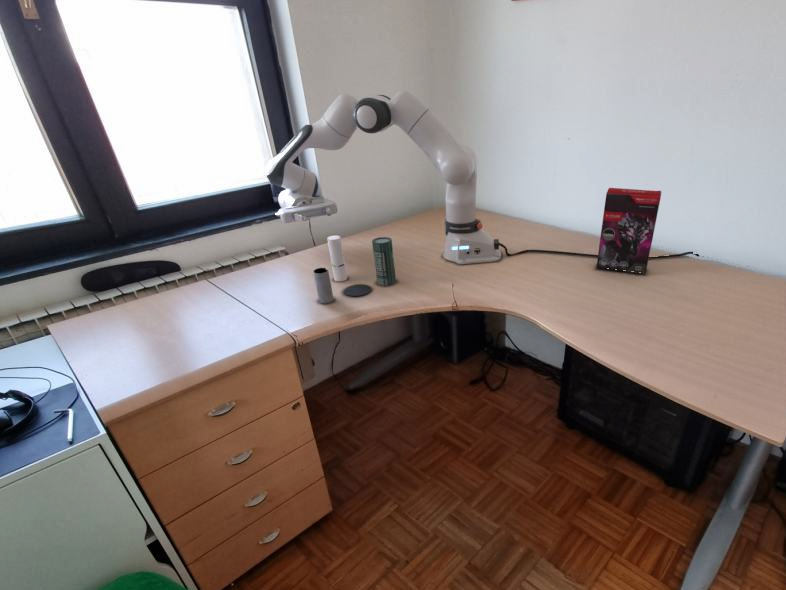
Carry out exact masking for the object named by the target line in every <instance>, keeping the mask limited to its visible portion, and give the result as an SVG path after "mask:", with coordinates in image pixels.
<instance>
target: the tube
mask: <svg viewBox="0 0 786 590" xmlns="http://www.w3.org/2000/svg"><path fill="white" fill-rule="evenodd" d="M326 239H327V245H328V250H329V251H328V252H329V256H330V257H329V258H330V261H331V266H332V267H331V268H332V273H333V279H334V282H344V281H346V280H347V279H348V276H347V275H348V274H347V270H346V269H347V268H346V263H345V258H344V251H343V245H342V239H341V235H330V236H327V237H326Z"/></svg>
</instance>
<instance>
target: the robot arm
mask: <svg viewBox="0 0 786 590" xmlns="http://www.w3.org/2000/svg"><path fill="white" fill-rule="evenodd" d="M393 125H395V126H397V127H399V128H400V129H401V130H402V131H403V132H404V133H405V134H406V135H407V136H408V137H409V138H410V139H411V140H412V141H413V142H414V143H415V144H416V145H417V146H418V147H419V148H420V149H421V150H422V151H423V152H424V154H425V156H427V157H428V159H429V160H430V161H431V163H432V164H433V166H434V167H435V169H437V171H438V172H439V173H440V175H441V176H442V178H443V180H444V181H445V183H446V187H445V197H444V198H445V199H444V201H445V202H444V203H445V219H444V233H445V245H444V250H443V254H442V257H443V259H445V260H447V261H449V262H452V263H453V262H454V263H456V264H457V265H469V264H470V265H471V264H481V263H482V264H483V263H493V262H498V261H500V260H501V258H502V251H501V249H500V247H502V248H503V249H504V252H505V255H506V256H507V257H512V256H513V257H514V256H517V255H521V254H524V253H547V254H560V255H570V256H581V257H590V258H591V257H592V258H598V254H591V253H582V252H572V251H559V250H547V249H523V250H521V251H518V252H516V253H509V252H508V248H507V247H506V245H504V244H503V243H501V242H500V240H499V238H494V237H493V236H492V235H491V234H489V233H488V232H487V231H485V230H483V223H482V221H481V219H479V218H477V217H476V215H477V214H476V212H477V211H476V209H477V208H476V205H477V203H476V201H477V200H476V199H477V197H476V195H477V181H478V180H477V178H478V157H477V154H476V152H475V150H474V149H473V148H472V147H470V146H468V145H464V144H459V143H458V142H457V140H456V139H455V138H454V136H453V135H452V133H451V132H450V130H449V129H448V127H447V126H446V125H445V124H444V123H443V122H442V120H440V119H439V118H438V116H437V115H436V114H434V112H433V111H432V110H431V108H429V107H428V106H427V105H426V104H425V103H424V102H423V101H421V100H420V99H419V98H418V97H417V96H415V95H414V94H413V93H411V92H410V91H408V90H400V91H398V92H397V93H395V94H394V95H393V96H392V97H389V96H387V95H384V94H377V95H376V94H375V95H373V94H372V95H369V96H366V97H363V98H361V99H360V100H358V99H357V98H356V97H354V96H353V95H351V94H349V93H341V94H340V95H338V96H337V97H336V98H335V99H334V100H333V101H332V103H331V104H330V105H329V106H328V108H327V109H326V110H325V112H324V113H323V115H322V116H321V118H320V119H318V120H317V121H315V122H314V123H311V124H305V125H304V126H302V127H301V128H300V129H299V130H298V131H297V132H296V133H295V134H294V136H293V137H292V138H291V139H290V140H289V141H288V142H287V143H286V145H284V146H283V148H282V149H281V150H280V151H279V152H278V153H277V154H276V155H274V156H273V157H272V158H271V159H270V160H269V161H268V163H266V167H265V176H266V178H267V180H268V181H269V183H270V184H271V185H273V186H277V187H279V188H283V189H284V190H281V191H280V193H279V194H278V198H277V200H278V205H279V207H280V208H279V209H278V211H277V212H275V216H277V217H279V218H280V220H281V222H282V223H284V224H290V223H293V222H307V221H309V220H311V219H314V218H320V217H325V216H326V217H331V216H333V215H334V214H337V213H338V206H337V203H336V202H335V201H334V200H332V199H329V198H325V196H323V195H317V193H318V190H319V180H318V178H317V175H316V173H315V172H313V171H311V170H310V169H308V168H307V169H306V168H304V167H302V166H300V165H298V164H296V163H294V161H295V160H296V158H297V157H298V156H299V155H301V153H302V152H304V151H305V150H308V149H319V150H320V149H321V150H326V151H337V150H338V151H339V150H341V149H343V148H344V147H345V146H346V145H347V143H348V142H349V141H350V139H351V138H352V136H353V135H354V134H355V132H356V130H357V129H359V130H361V132H364V133H366V134H377V133H379V132H384V131H386V130H388V129H389V128H390V127H392V126H393ZM693 252H694V251H686V252H682V253H675V254H668V255H669V256H664V255H657V256H658V257H649V259H648V260H650V259H651V260H652V259H653V260H654V259H665V258H676V257H682V256H686V255H693V256H696V257H700V254H699V253H698V254H693Z"/></svg>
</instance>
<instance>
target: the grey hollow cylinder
mask: <svg viewBox="0 0 786 590" xmlns="http://www.w3.org/2000/svg"><path fill="white" fill-rule="evenodd" d="M312 273H313V278H314V283H315V287H316V292H317V297H318V302H319V303H321V304H330V303H333V302H334V293H333V289H332V288H333V287H332V283H331V278H330V271H329V269H328V268H327V267H317V268H315V269H314V270H313V272H312Z"/></svg>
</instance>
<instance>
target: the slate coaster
mask: <svg viewBox="0 0 786 590" xmlns="http://www.w3.org/2000/svg"><path fill="white" fill-rule="evenodd" d="M371 292H372V287H371V286H370V285H368V284H361V283H360V284H352V285H350V286H347V287H346V288H344V289H343V295H345V296H347V297H351V298H357V297H364V296H366V295H368V294H370V293H371Z"/></svg>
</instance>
